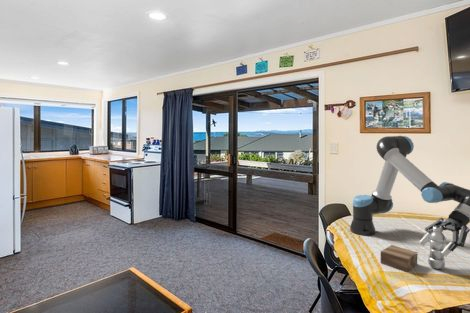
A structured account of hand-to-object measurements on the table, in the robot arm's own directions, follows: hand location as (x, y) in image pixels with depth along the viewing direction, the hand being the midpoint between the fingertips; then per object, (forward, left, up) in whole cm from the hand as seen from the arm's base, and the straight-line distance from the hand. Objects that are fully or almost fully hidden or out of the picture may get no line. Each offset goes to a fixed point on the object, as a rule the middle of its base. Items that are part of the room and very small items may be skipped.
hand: (431, 249), depth 129 cm
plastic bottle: (-2, +1, -10) cm, 10 cm away
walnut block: (+7, -12, -9) cm, 16 cm away
